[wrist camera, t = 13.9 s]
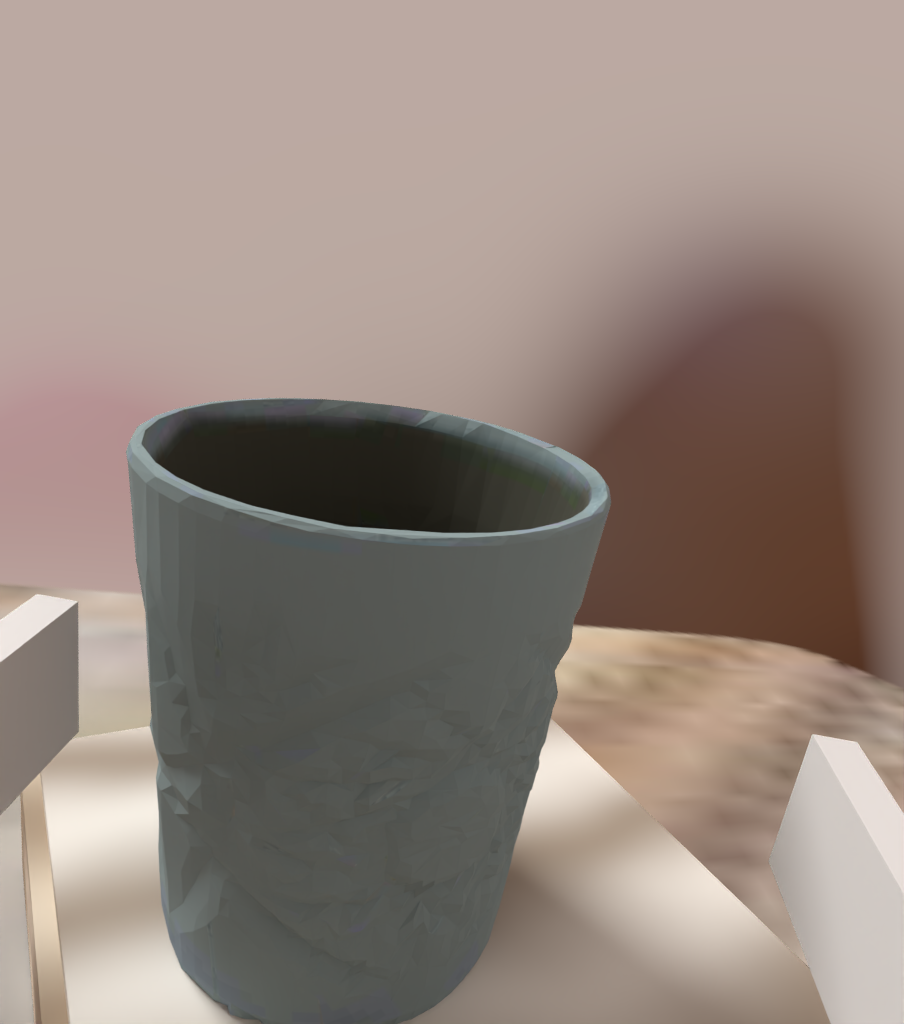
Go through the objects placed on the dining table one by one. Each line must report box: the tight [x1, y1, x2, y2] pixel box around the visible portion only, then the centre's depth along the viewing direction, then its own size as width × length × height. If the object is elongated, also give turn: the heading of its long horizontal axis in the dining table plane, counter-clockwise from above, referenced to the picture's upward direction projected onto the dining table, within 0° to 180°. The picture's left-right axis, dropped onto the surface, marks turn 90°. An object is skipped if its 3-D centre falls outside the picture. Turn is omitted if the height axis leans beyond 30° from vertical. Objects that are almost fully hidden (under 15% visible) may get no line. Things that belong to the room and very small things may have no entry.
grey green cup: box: [126, 398, 611, 1024], centre depth 19 cm, size 10×10×12 cm
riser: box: [20, 719, 831, 1024], centre depth 23 cm, size 18×18×5 cm
